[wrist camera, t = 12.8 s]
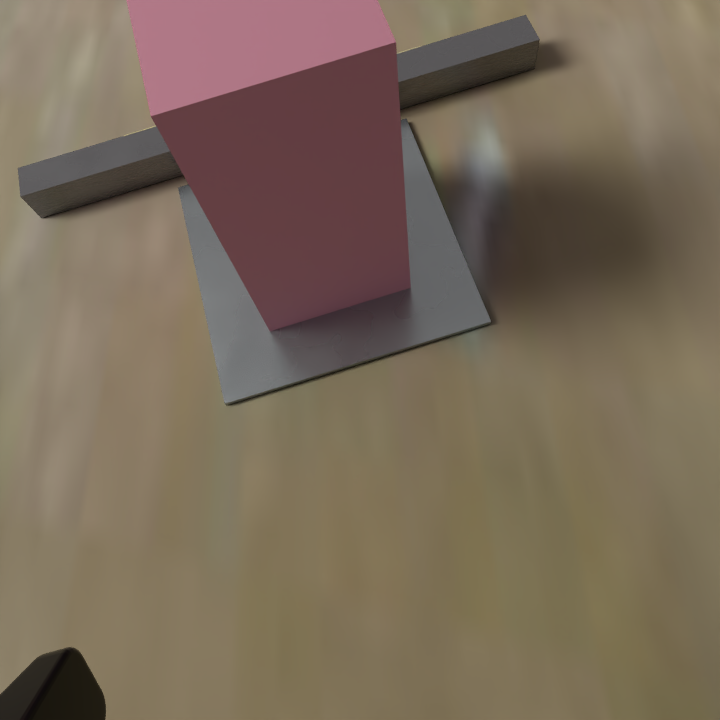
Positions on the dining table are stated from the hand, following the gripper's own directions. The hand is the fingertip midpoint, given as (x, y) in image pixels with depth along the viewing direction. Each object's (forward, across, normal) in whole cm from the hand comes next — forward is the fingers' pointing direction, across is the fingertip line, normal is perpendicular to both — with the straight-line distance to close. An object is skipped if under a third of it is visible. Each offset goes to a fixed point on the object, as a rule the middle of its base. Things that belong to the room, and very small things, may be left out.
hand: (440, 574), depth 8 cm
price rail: (+20, 0, -1) cm, 20 cm away
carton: (+19, 0, 0) cm, 19 cm away
